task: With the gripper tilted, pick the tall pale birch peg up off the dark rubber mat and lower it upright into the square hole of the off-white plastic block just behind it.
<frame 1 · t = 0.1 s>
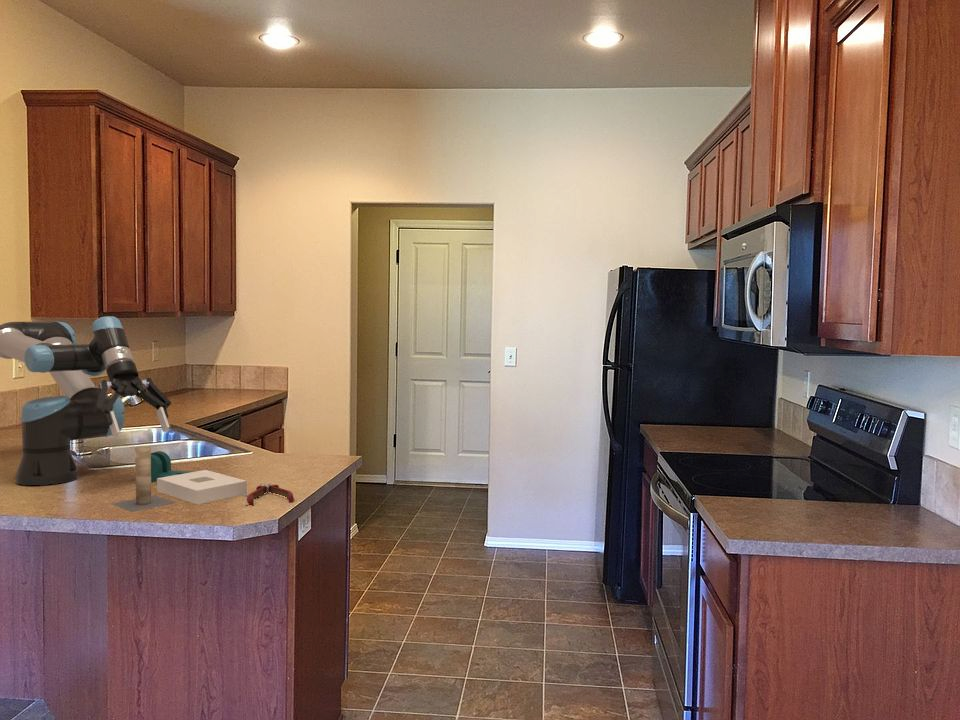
hand: (142, 432, 193), 15 cm above the counter, tool tilted 35°, fingers open, 13 cm apart
hole block: (201, 494, 188), on the counter
mat: (143, 505, 177), on the counter
bracket: (172, 481, 203), on the counter
pliers: (274, 498, 188), on the counter
peg: (143, 503, 177), resting on mat
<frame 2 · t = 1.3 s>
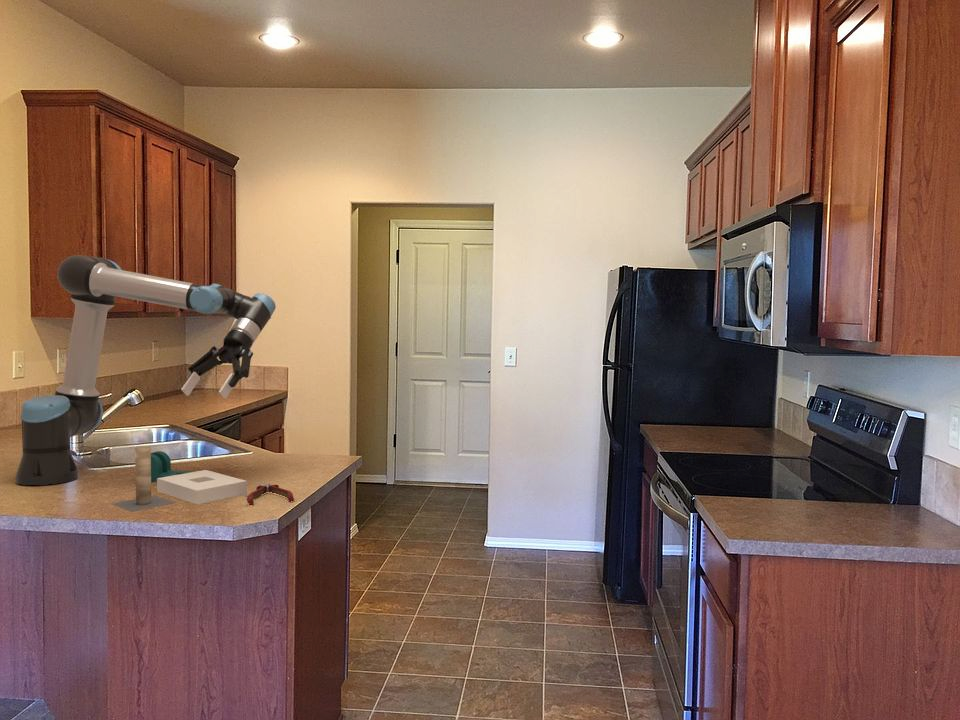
hand: (203, 394, 194), 26 cm above the counter, tool tilted 45°, fingers open, 13 cm apart
nothing on the counter moved.
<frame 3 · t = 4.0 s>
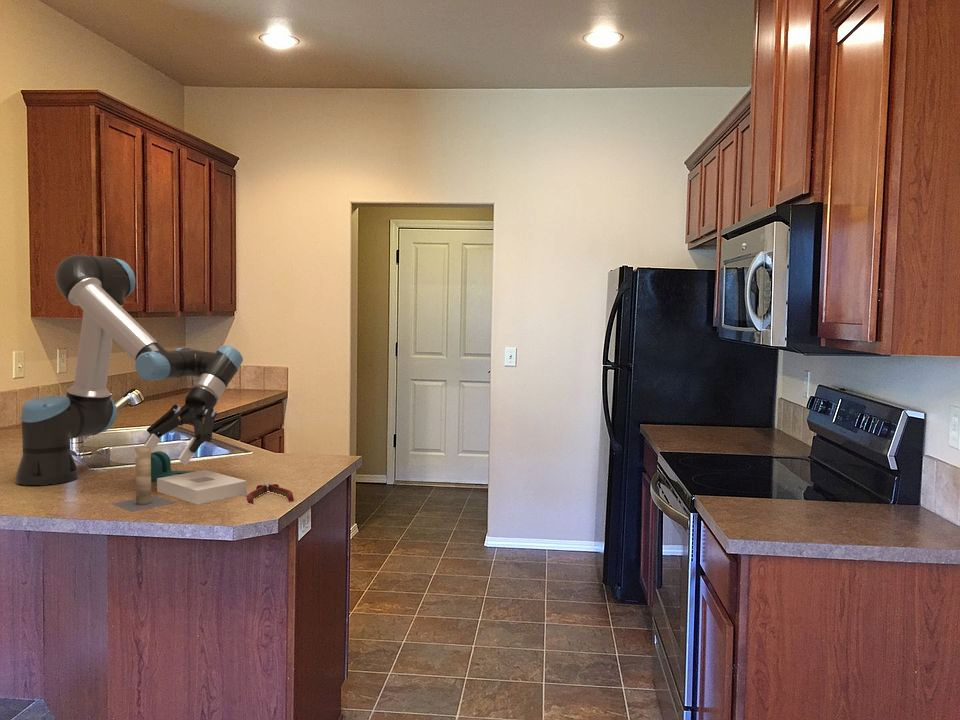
hand: (161, 459, 180), 11 cm above the counter, tool tilted 45°, fingers open, 13 cm apart
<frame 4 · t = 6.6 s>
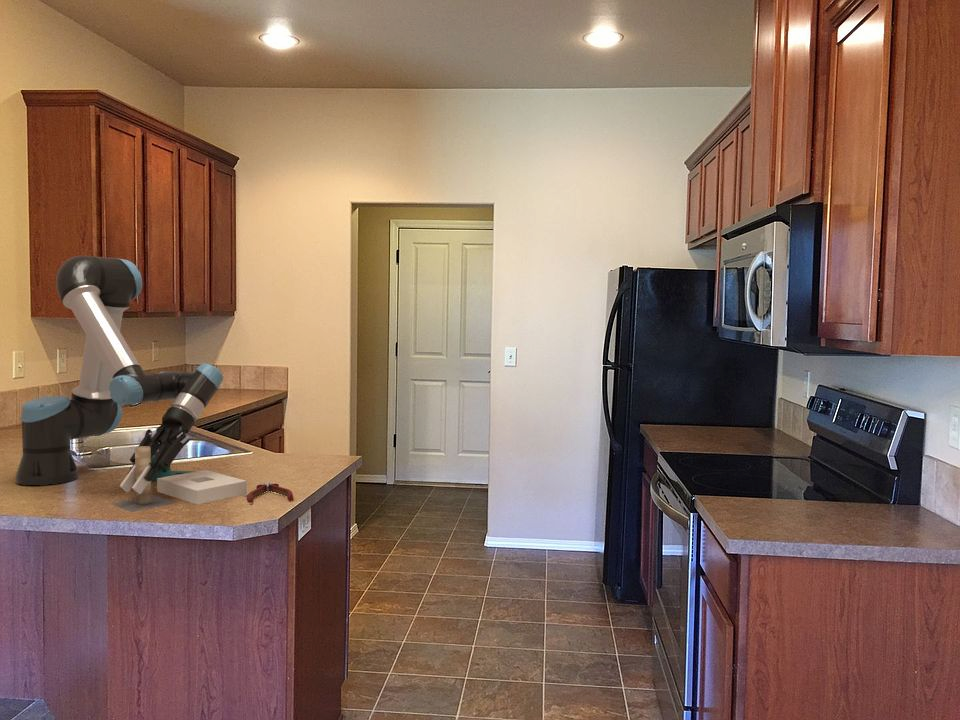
hand: (130, 489, 173), 5 cm above the counter, tool tilted 45°, fingers closed on peg, 3 cm apart
peg: (143, 503, 177), resting on mat, touching gripper
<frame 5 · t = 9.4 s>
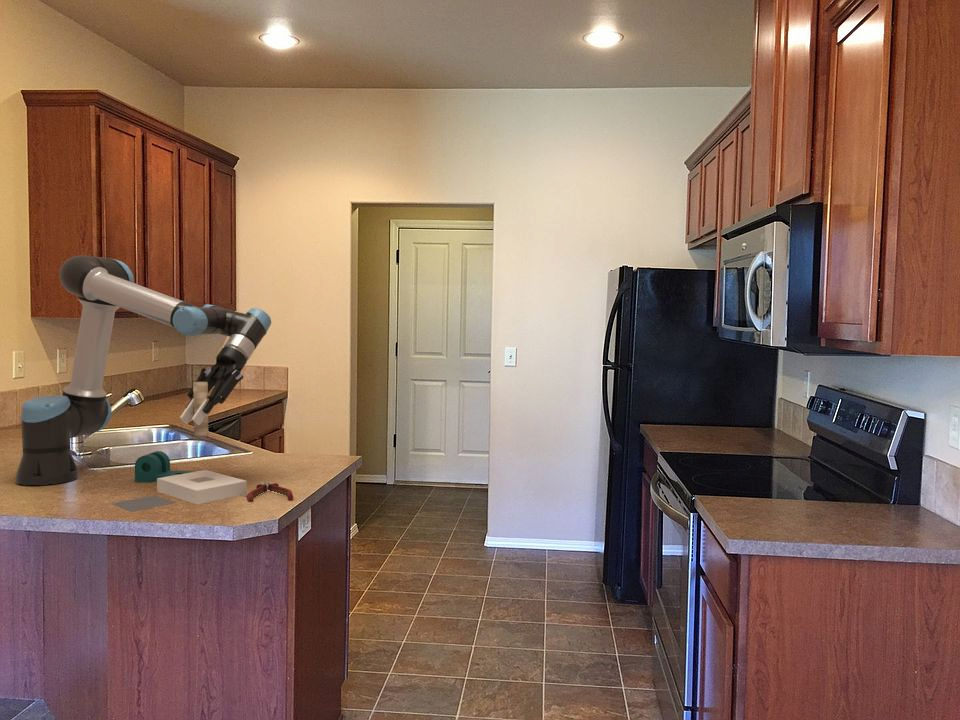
hand: (189, 421, 183), 20 cm above the counter, tool tilted 45°, fingers closed on peg, 3 cm apart
peg: (201, 435, 187), point 16 cm above the counter, touching gripper
when the fingers open (7 cm above the counter, at t = 12.6 s): peg drops 2 cm, resting in hole block.
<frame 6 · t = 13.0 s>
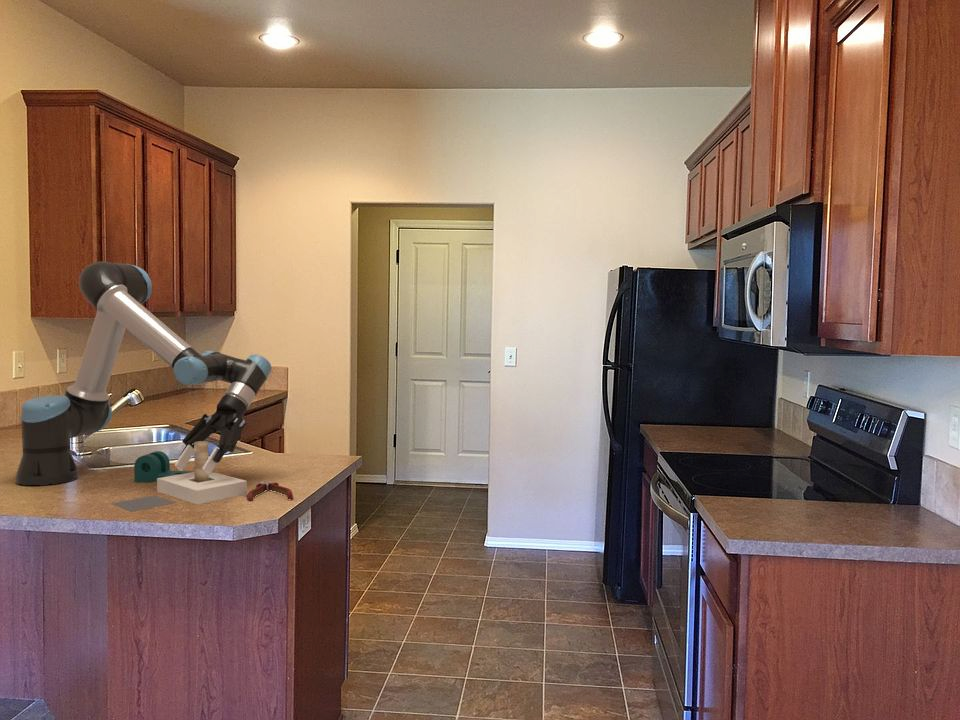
hand: (192, 469, 185), 7 cm above the counter, tool tilted 45°, fingers open, 9 cm apart
peg: (201, 494, 188), resting in hole block
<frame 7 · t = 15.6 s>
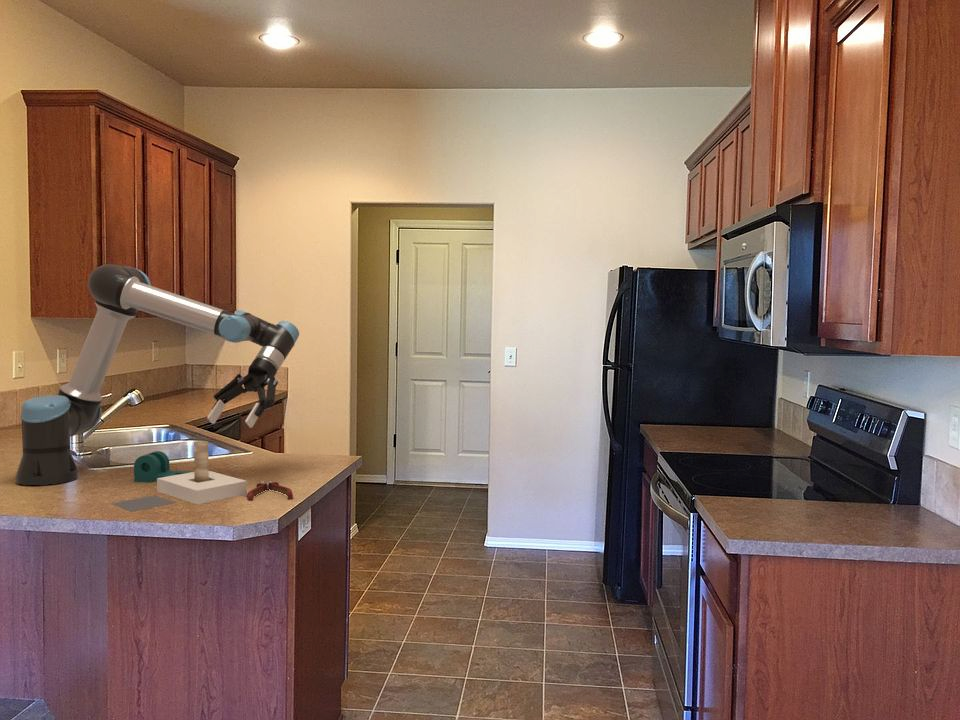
hand: (229, 422, 196), 18 cm above the counter, tool tilted 45°, fingers open, 13 cm apart
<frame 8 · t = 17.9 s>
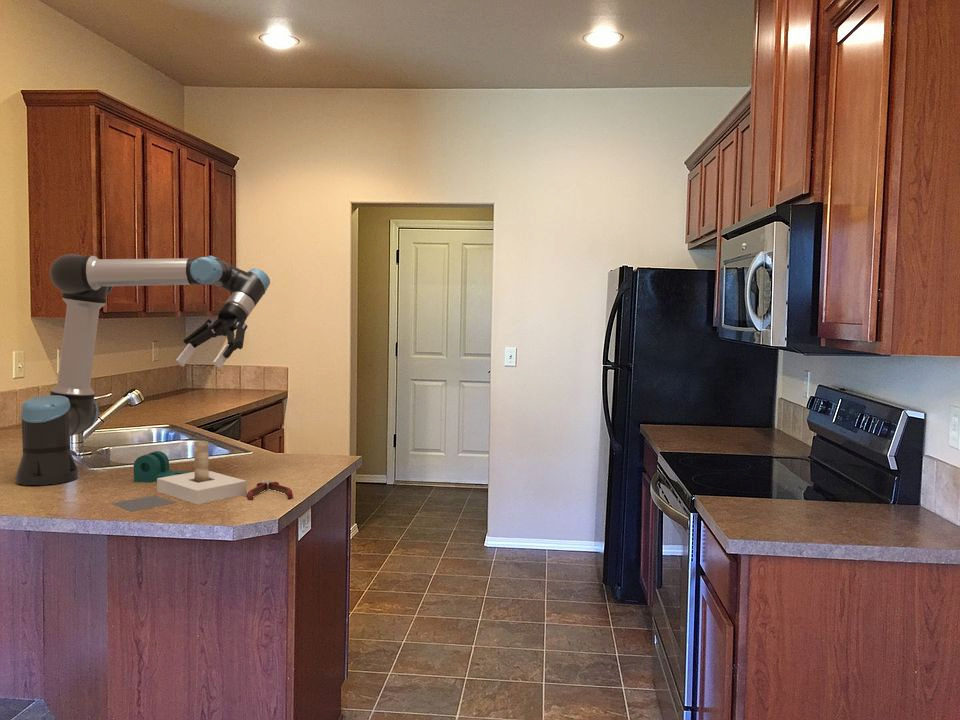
hand: (197, 364, 198), 34 cm above the counter, tool tilted 45°, fingers open, 13 cm apart
at the end: peg 0.1 cm off-centre on the hole block, point 0.0 cm above the hole block's base; peg tilted 1°; the gripper is holding nothing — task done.
